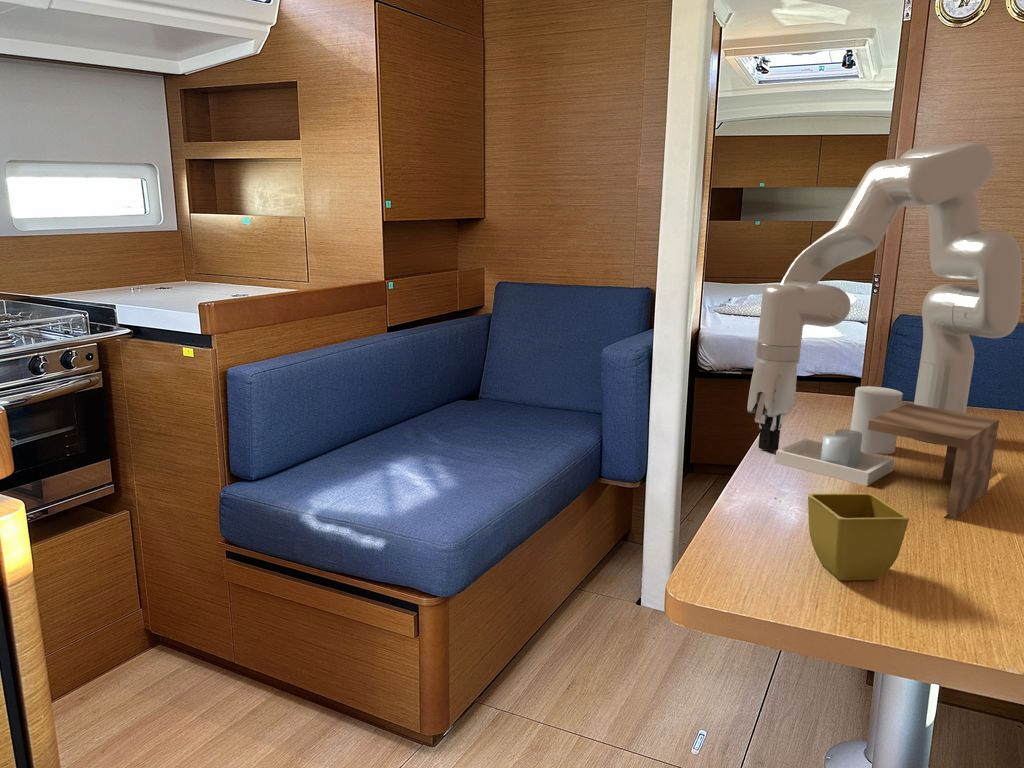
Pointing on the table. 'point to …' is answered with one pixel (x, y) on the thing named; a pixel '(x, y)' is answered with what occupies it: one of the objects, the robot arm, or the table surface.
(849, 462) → the grey rounded cylinder
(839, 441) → the blue-grey rounded cylinder
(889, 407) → the white cylinder
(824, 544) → the flower pot
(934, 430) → the counter
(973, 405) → the table surface
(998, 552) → the table surface
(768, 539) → the table surface
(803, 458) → the tray
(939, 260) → the robot arm
